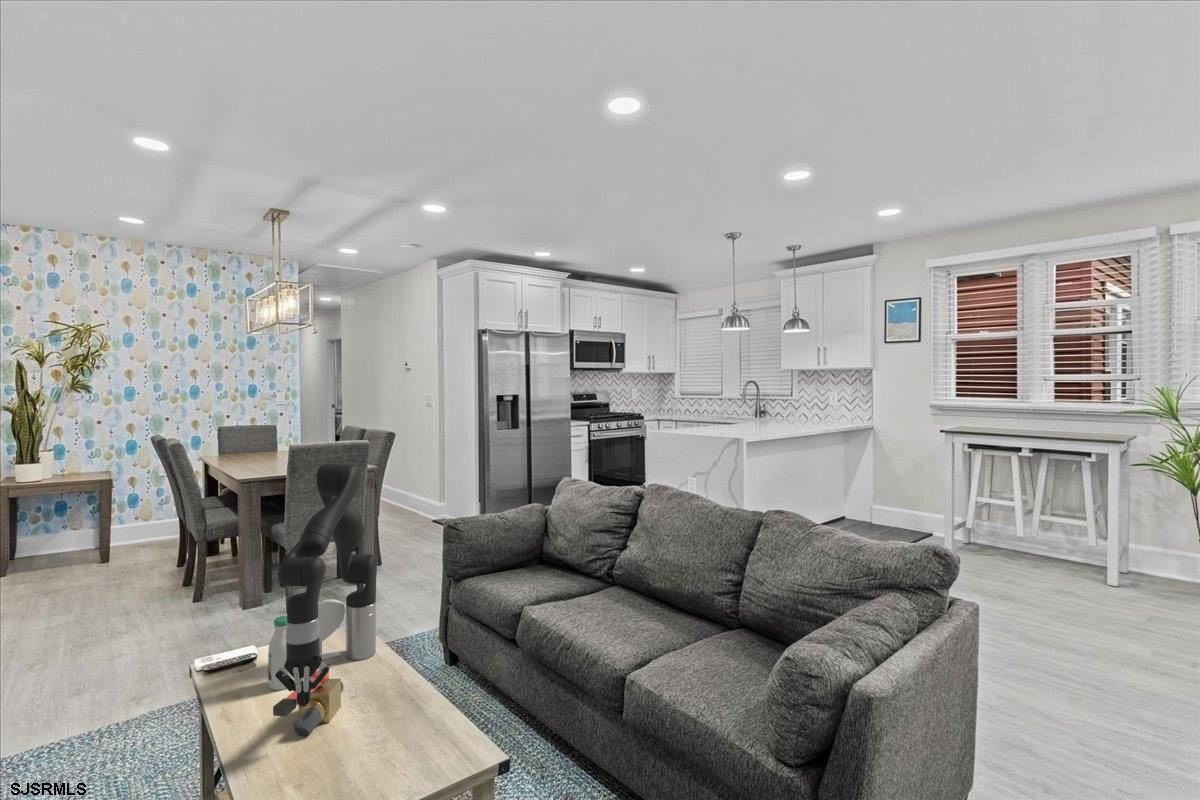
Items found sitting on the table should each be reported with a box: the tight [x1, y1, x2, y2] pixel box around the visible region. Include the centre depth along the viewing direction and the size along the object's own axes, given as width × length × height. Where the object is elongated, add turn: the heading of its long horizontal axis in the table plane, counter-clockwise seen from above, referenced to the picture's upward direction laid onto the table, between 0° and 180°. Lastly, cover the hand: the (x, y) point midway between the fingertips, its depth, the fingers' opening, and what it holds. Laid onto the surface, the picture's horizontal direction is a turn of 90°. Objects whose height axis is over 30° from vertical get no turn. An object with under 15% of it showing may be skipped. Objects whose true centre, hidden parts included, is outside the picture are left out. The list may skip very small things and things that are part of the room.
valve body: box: [293, 678, 345, 737], centre depth 165 cm, size 20×8×9 cm, turn 2°
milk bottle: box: [267, 615, 294, 691], centre depth 181 cm, size 8×8×20 cm
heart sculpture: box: [318, 599, 346, 661], centre depth 199 cm, size 16×5×18 cm, turn 128°
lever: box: [272, 669, 330, 717], centre depth 157 cm, size 20×4×2 cm, turn 174°
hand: (303, 705), depth 152 cm, fingers closed
